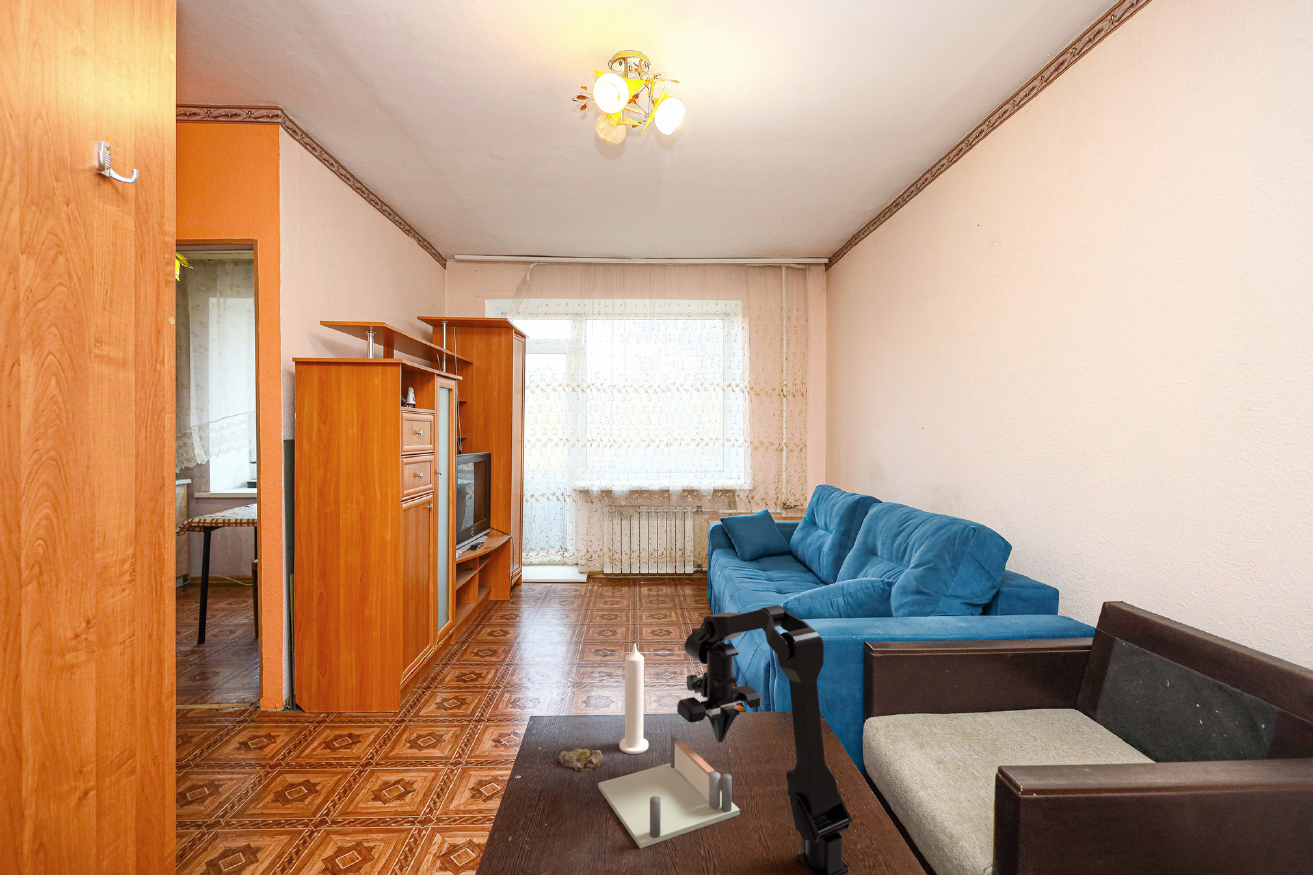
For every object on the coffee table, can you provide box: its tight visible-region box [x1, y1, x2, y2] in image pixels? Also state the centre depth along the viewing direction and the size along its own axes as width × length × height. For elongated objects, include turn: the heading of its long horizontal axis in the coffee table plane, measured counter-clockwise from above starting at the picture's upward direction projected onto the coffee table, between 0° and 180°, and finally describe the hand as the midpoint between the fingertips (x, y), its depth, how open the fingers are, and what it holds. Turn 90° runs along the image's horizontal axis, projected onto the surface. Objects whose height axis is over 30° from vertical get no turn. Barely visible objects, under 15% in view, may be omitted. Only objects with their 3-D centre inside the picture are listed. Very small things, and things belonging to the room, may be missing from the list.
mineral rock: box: [557, 747, 604, 772], centre depth 137 cm, size 11×4×8 cm
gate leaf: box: [675, 738, 721, 808], centre depth 125 cm, size 16×2×6 cm, turn 27°
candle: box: [619, 643, 649, 755], centre depth 144 cm, size 7×7×25 cm
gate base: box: [597, 734, 741, 849], centre depth 122 cm, size 21×22×8 cm
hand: (719, 741), depth 131 cm, fingers closed
